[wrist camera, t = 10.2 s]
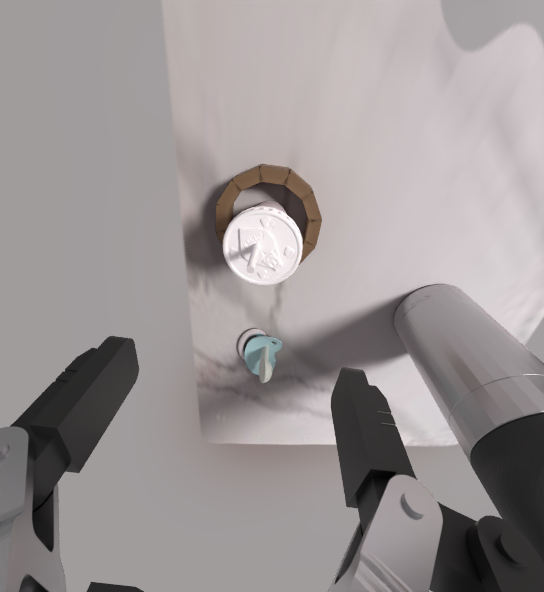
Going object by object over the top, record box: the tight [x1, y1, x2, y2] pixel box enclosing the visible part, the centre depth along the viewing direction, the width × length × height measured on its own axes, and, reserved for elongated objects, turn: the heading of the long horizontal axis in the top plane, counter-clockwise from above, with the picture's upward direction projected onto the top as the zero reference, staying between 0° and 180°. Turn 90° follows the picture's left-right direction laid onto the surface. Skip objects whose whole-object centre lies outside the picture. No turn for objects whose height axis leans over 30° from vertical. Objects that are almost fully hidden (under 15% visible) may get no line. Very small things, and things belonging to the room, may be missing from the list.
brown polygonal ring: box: [216, 164, 322, 265], centre depth 28 cm, size 10×10×3 cm
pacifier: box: [238, 329, 282, 383], centre depth 36 cm, size 7×6×6 cm
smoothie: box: [223, 201, 303, 285], centre depth 23 cm, size 6×6×14 cm
